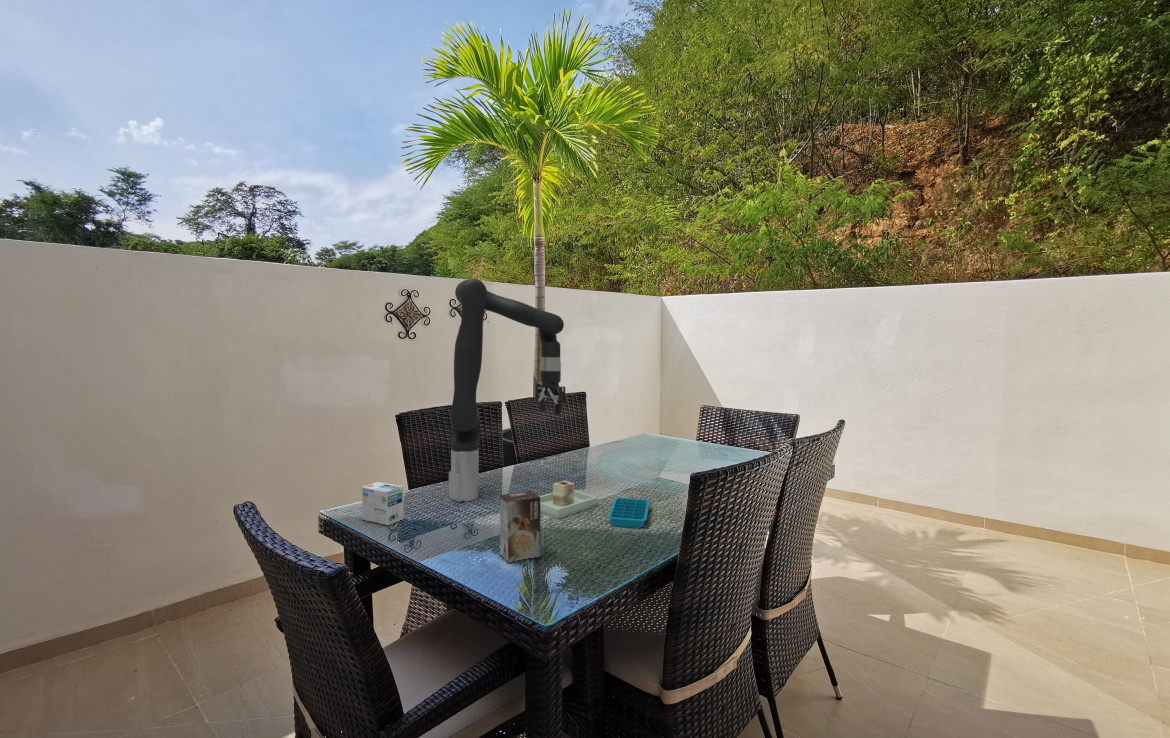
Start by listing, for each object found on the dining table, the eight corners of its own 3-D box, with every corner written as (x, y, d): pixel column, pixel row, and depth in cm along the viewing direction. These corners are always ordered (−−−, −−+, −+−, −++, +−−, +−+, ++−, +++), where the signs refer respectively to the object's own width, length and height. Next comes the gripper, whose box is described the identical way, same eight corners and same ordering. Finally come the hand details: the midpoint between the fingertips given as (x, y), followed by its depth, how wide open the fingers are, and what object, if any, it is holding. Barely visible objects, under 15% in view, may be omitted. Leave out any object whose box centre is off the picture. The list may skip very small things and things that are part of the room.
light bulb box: (404, 520, 162) (404, 485, 161) (387, 527, 156) (387, 491, 155) (378, 514, 166) (378, 480, 165) (361, 521, 160) (361, 486, 159)
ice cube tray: (649, 508, 177) (649, 499, 177) (645, 530, 157) (646, 520, 157) (615, 505, 179) (615, 497, 179) (607, 527, 159) (607, 517, 159)
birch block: (563, 507, 172) (563, 486, 172) (552, 503, 176) (553, 482, 175) (574, 504, 176) (574, 483, 175) (563, 500, 179) (564, 480, 179)
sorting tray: (557, 519, 164) (557, 509, 164) (529, 507, 174) (529, 499, 174) (597, 506, 177) (597, 497, 177) (568, 496, 187) (568, 488, 187)
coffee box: (531, 548, 143) (532, 489, 141) (541, 557, 137) (541, 496, 136) (499, 554, 138) (499, 494, 137) (507, 564, 133) (507, 501, 132)
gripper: (530, 368, 197) (529, 411, 198) (555, 371, 186) (555, 416, 188) (545, 367, 202) (545, 409, 203) (571, 370, 192) (570, 414, 193)
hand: (550, 412), depth 195 cm, fingers open, 8 cm apart
